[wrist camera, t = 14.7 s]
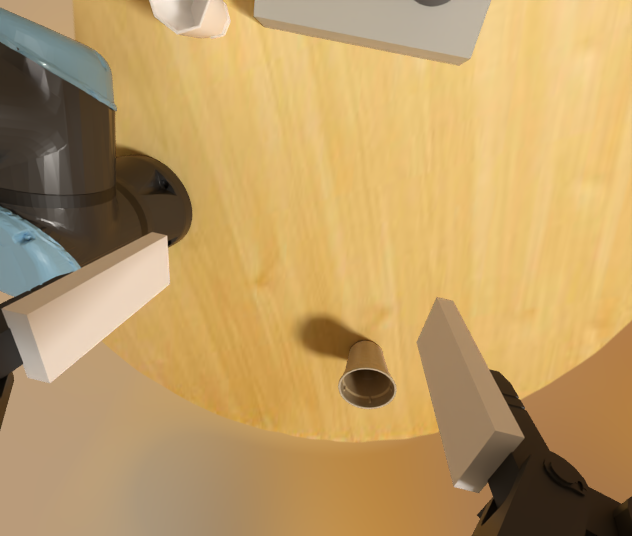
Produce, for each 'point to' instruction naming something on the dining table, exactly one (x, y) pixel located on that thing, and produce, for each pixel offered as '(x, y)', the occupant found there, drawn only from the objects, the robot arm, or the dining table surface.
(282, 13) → the grey recessed tray
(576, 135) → the dining table surface
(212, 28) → the cup
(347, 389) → the flower pot
